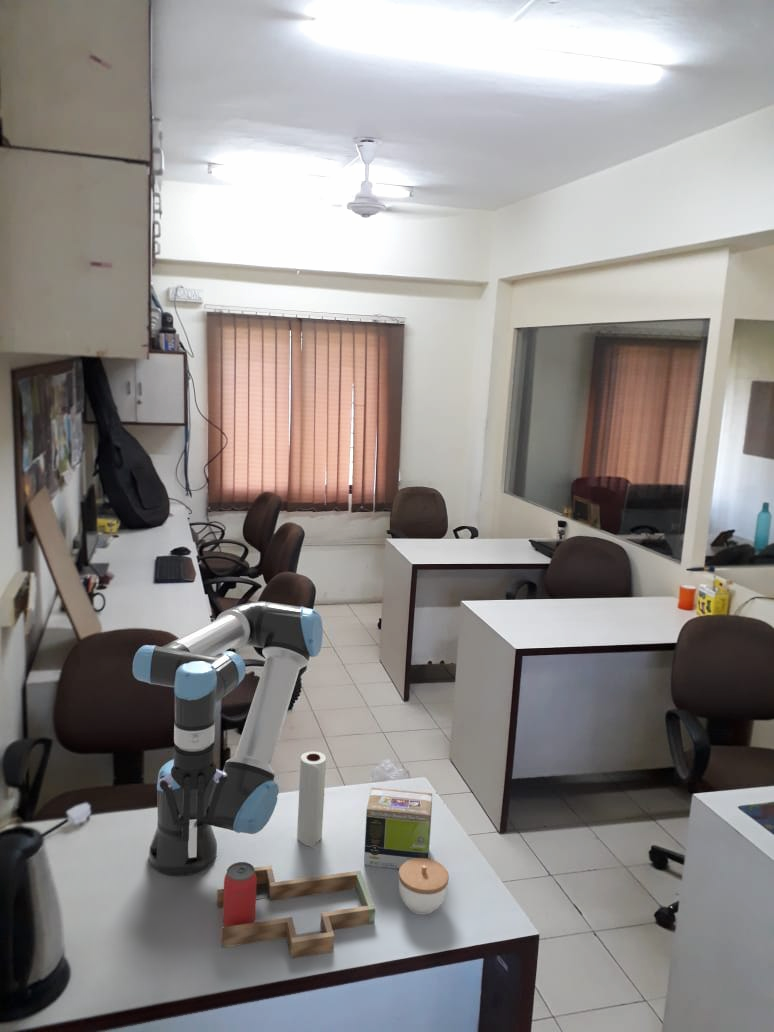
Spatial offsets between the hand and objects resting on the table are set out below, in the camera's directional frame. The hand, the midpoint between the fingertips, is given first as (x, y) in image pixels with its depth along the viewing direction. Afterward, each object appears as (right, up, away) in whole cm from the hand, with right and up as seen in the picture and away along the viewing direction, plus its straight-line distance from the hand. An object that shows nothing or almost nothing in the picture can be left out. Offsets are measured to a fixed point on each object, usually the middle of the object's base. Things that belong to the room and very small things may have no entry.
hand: (192, 853), depth 151 cm
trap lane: (+19, -17, +9) cm, 27 cm away
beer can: (+8, -17, +6) cm, 20 cm away
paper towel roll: (+19, -12, +35) cm, 42 cm away
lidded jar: (+46, -18, +15) cm, 52 cm away
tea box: (+41, -15, +31) cm, 53 cm away
